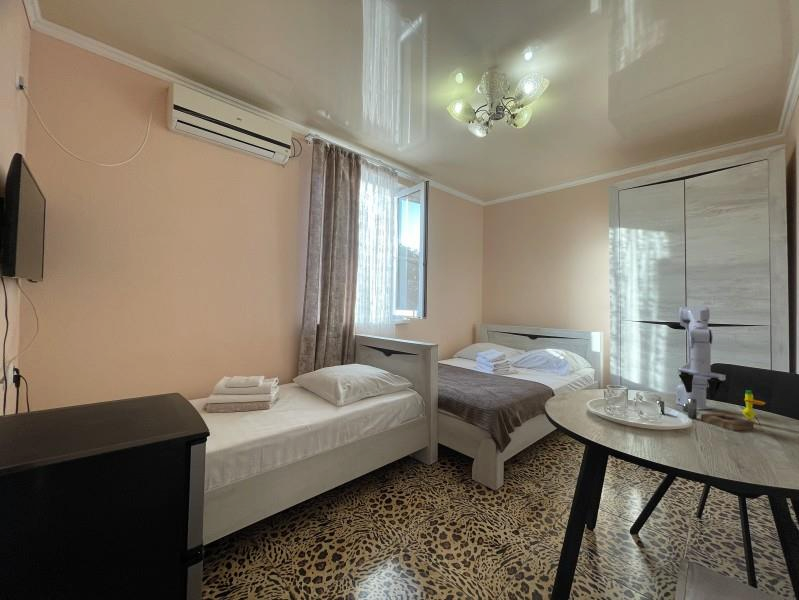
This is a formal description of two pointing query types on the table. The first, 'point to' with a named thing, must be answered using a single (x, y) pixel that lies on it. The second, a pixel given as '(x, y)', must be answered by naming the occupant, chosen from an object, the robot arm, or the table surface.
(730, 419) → the hole block
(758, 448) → the table surface
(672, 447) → the table surface
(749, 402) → the toy figure
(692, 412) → the long pin
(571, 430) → the table surface
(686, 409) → the short pin
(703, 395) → the robot arm
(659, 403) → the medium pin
